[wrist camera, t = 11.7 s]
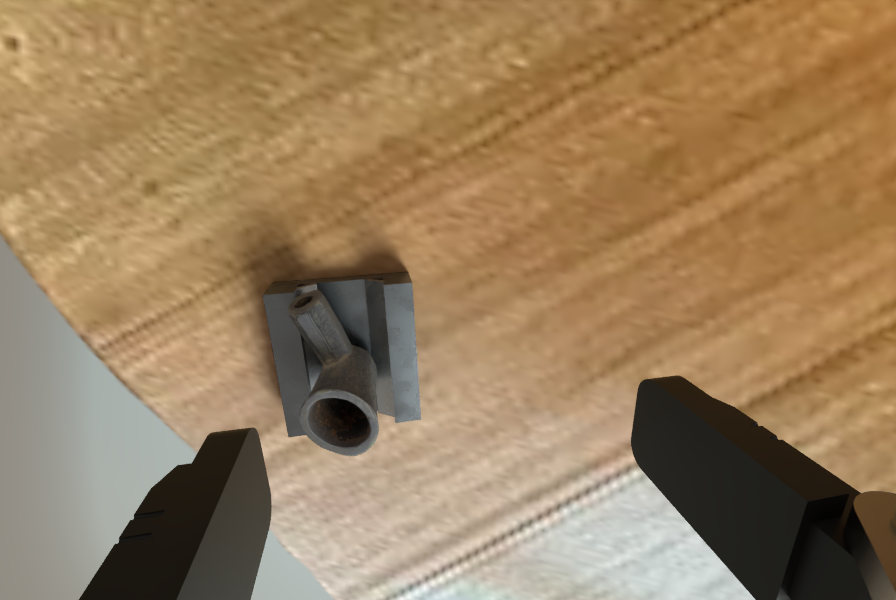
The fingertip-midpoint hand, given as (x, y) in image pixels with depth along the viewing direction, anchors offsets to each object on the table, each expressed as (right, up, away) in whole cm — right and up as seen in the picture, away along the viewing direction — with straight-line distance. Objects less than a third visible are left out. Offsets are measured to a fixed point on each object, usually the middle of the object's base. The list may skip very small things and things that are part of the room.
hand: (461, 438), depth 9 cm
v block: (-10, -2, +33) cm, 35 cm away
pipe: (-10, -1, +31) cm, 33 cm away
